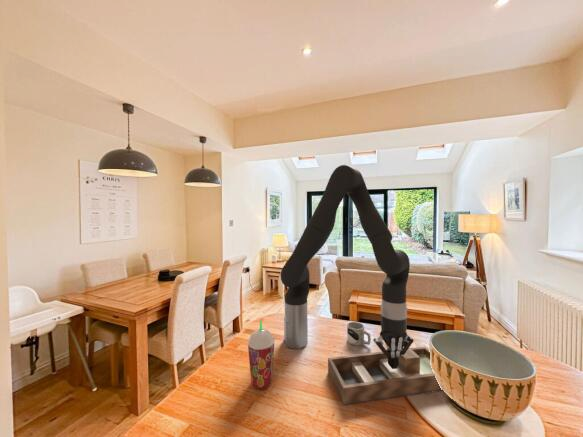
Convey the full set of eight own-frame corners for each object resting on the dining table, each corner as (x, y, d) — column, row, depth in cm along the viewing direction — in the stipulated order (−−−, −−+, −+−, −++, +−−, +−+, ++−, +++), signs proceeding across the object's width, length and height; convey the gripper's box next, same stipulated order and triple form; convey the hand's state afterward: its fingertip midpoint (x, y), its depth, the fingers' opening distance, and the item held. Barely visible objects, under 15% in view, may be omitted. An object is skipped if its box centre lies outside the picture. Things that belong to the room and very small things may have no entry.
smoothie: (279, 377, 81) (278, 317, 80) (268, 395, 73) (267, 329, 72) (256, 372, 83) (255, 313, 82) (243, 389, 75) (242, 325, 75)
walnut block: (405, 374, 77) (405, 358, 76) (396, 364, 82) (396, 349, 81) (419, 372, 77) (420, 357, 77) (409, 362, 82) (409, 348, 82)
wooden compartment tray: (343, 405, 69) (343, 388, 69) (328, 372, 83) (327, 357, 82) (456, 388, 75) (457, 372, 74) (424, 360, 88) (424, 346, 88)
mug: (344, 341, 102) (344, 325, 101) (353, 335, 106) (353, 320, 106) (365, 351, 94) (365, 334, 94) (374, 344, 99) (374, 328, 99)
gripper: (405, 307, 82) (405, 358, 83) (368, 310, 80) (368, 362, 81) (420, 317, 75) (419, 372, 76) (380, 320, 73) (379, 377, 74)
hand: (393, 367), depth 78 cm, fingers closed
